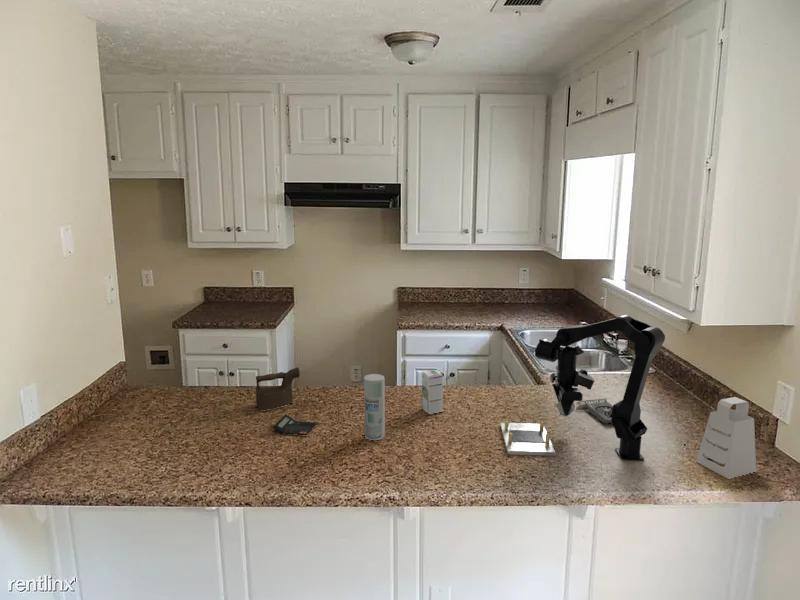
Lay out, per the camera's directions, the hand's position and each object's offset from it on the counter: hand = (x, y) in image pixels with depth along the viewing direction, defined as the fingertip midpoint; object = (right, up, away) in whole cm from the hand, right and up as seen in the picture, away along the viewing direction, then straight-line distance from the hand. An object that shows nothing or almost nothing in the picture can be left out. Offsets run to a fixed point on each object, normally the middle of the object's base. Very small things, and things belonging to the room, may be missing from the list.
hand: (564, 411), depth 174 cm
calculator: (-88, -7, +4) cm, 88 cm away
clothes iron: (-99, -3, +23) cm, 101 cm away
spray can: (-61, -8, -2) cm, 62 cm away
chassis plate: (-13, -8, -5) cm, 16 cm away
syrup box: (-42, -4, +18) cm, 46 cm away
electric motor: (0, -1, 0) cm, 1 cm away
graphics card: (+18, -5, +14) cm, 23 cm away
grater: (+39, -12, -21) cm, 46 cm away
